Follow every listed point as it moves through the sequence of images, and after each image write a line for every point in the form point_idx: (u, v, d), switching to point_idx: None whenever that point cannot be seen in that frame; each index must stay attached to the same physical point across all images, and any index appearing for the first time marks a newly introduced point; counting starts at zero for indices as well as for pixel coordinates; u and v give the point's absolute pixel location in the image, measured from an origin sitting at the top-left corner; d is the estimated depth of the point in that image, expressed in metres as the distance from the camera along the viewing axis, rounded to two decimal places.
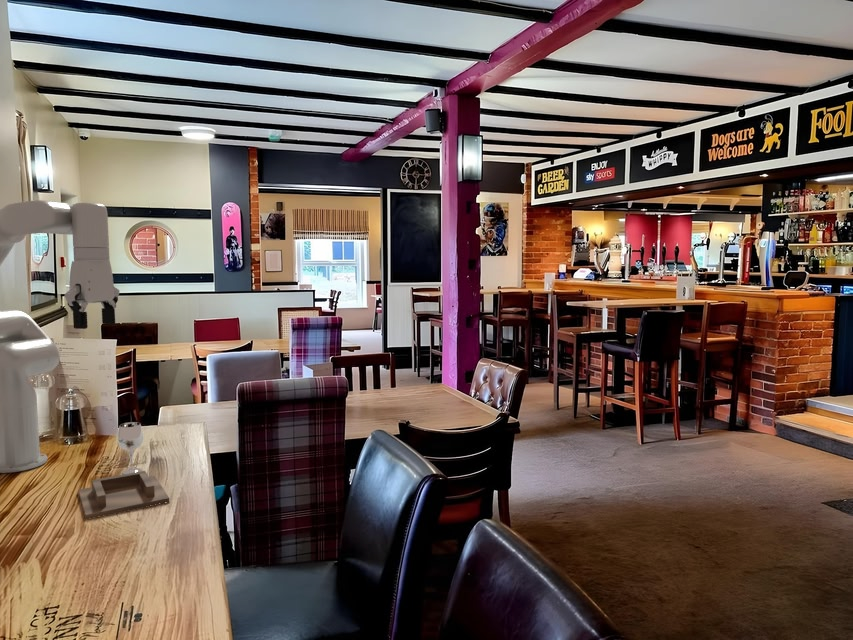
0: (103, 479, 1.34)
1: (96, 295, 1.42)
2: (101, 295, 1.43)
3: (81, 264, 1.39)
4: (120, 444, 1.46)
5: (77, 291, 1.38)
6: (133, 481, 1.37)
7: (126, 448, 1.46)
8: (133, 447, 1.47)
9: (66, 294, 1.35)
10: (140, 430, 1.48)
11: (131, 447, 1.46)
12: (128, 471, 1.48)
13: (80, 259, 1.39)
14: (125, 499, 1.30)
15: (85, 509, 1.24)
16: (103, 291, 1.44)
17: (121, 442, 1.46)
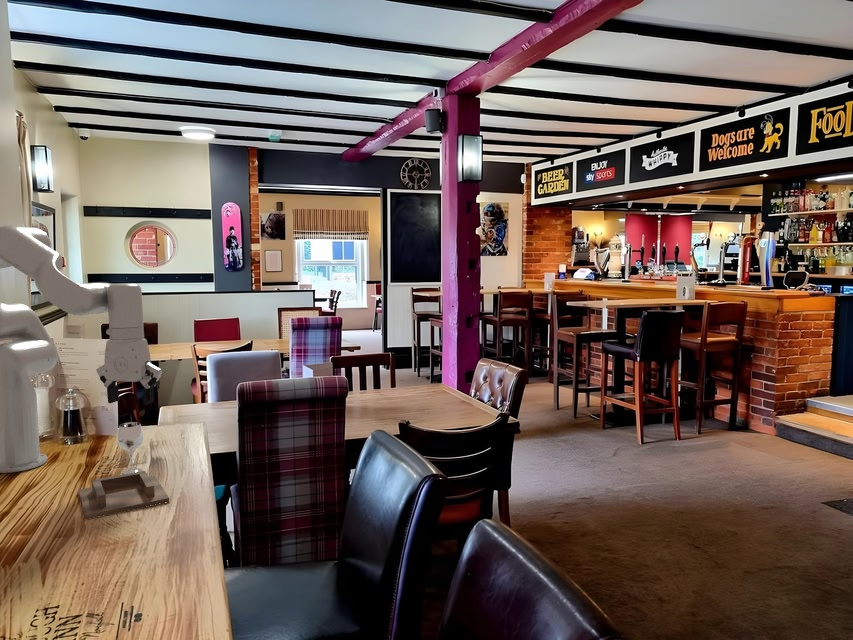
0: (103, 479, 1.34)
1: None
2: None
3: (145, 342, 1.46)
4: (120, 444, 1.46)
5: None
6: (133, 481, 1.37)
7: (126, 448, 1.46)
8: (133, 447, 1.47)
9: (159, 370, 1.45)
10: (140, 430, 1.48)
11: (131, 447, 1.46)
12: (128, 471, 1.48)
13: (140, 338, 1.45)
14: (125, 499, 1.30)
15: (85, 509, 1.24)
16: None
17: (121, 442, 1.46)
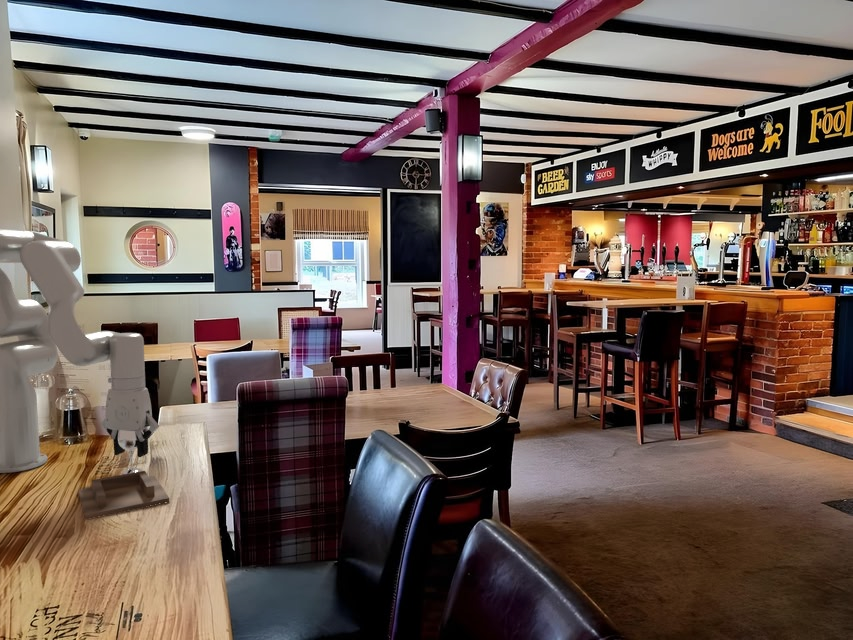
0: (103, 479, 1.34)
1: None
2: None
3: (146, 391, 1.47)
4: (120, 444, 1.46)
5: None
6: (133, 481, 1.37)
7: (126, 448, 1.46)
8: (133, 447, 1.47)
9: (156, 426, 1.46)
10: None
11: (131, 447, 1.46)
12: (128, 471, 1.48)
13: (142, 388, 1.46)
14: (125, 499, 1.30)
15: (85, 509, 1.24)
16: None
17: (121, 442, 1.46)
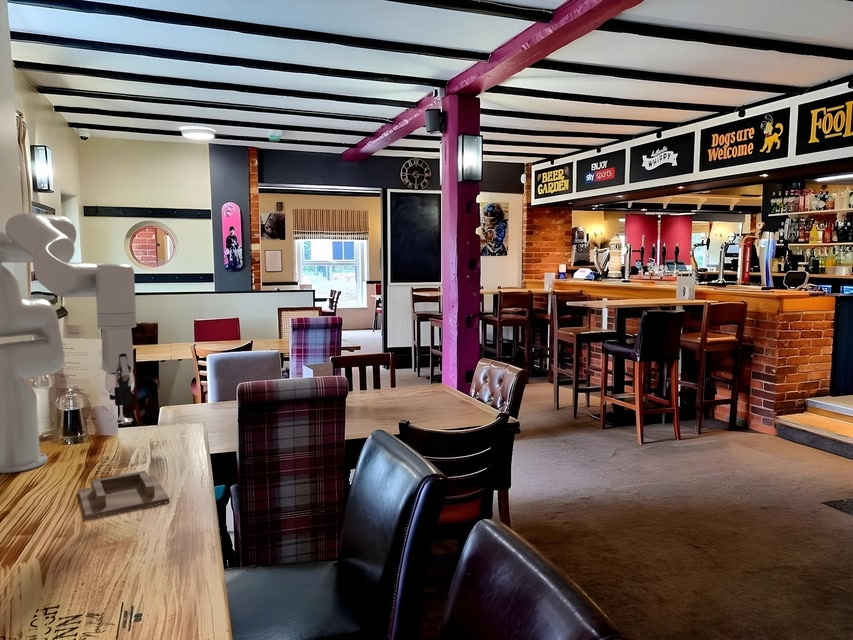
0: (103, 479, 1.34)
1: None
2: None
3: (124, 331, 1.27)
4: None
5: (126, 365, 1.27)
6: (133, 481, 1.37)
7: (109, 393, 1.30)
8: (114, 393, 1.29)
9: (124, 373, 1.25)
10: None
11: (112, 393, 1.29)
12: (115, 420, 1.32)
13: (120, 326, 1.27)
14: (125, 499, 1.30)
15: (85, 509, 1.24)
16: None
17: (105, 385, 1.30)
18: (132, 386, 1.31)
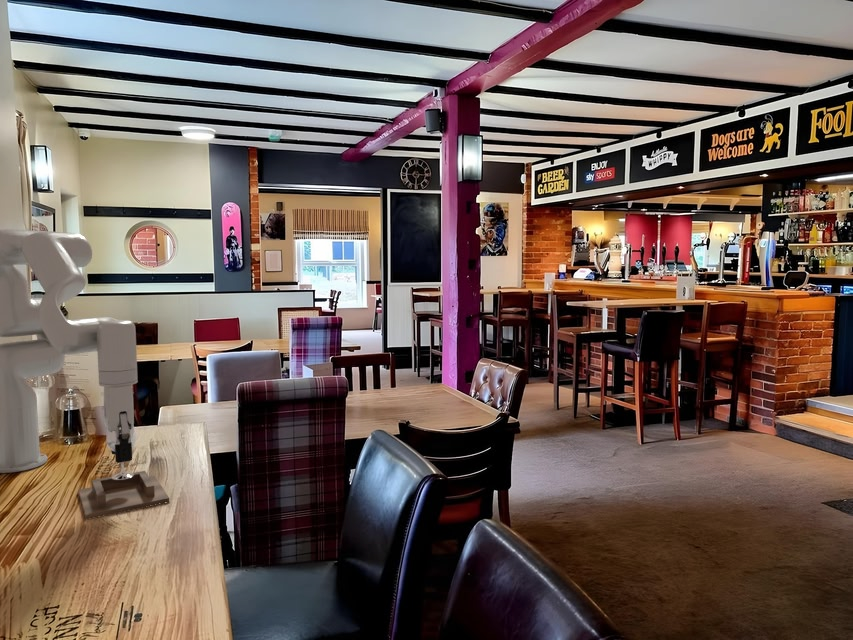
0: (103, 479, 1.34)
1: None
2: None
3: (125, 389, 1.27)
4: None
5: (126, 422, 1.27)
6: (133, 481, 1.37)
7: (110, 449, 1.30)
8: None
9: (124, 432, 1.25)
10: None
11: (113, 449, 1.29)
12: (116, 475, 1.32)
13: (120, 384, 1.27)
14: (125, 499, 1.30)
15: (85, 509, 1.24)
16: None
17: None
18: (133, 442, 1.31)
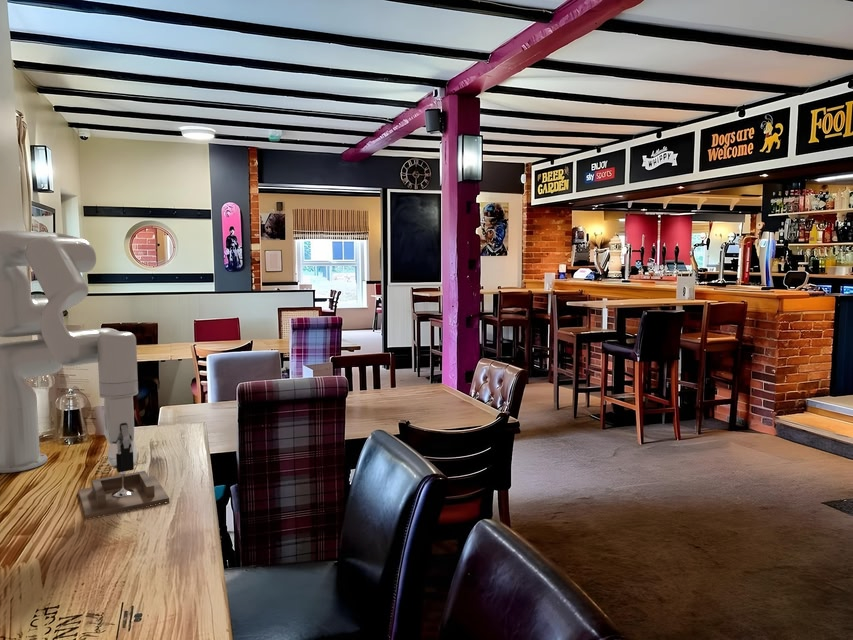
0: (103, 479, 1.34)
1: None
2: None
3: (125, 401, 1.27)
4: None
5: (127, 431, 1.27)
6: (133, 481, 1.37)
7: (111, 466, 1.31)
8: (116, 467, 1.30)
9: (125, 438, 1.24)
10: None
11: (114, 466, 1.30)
12: (117, 492, 1.32)
13: (121, 396, 1.27)
14: (125, 499, 1.30)
15: (85, 509, 1.24)
16: None
17: (108, 458, 1.31)
18: (134, 459, 1.32)
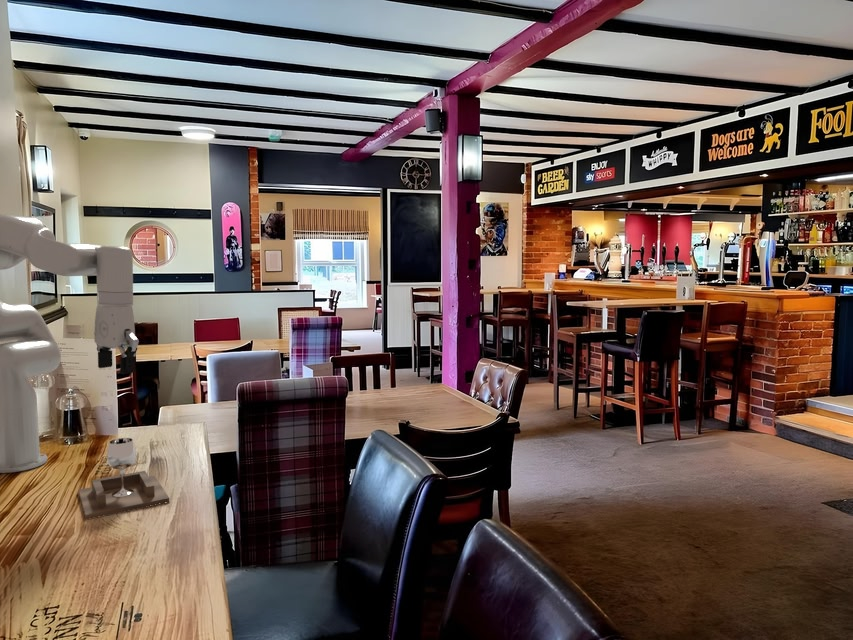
0: (103, 479, 1.34)
1: None
2: None
3: (128, 308, 1.39)
4: None
5: None
6: (133, 481, 1.37)
7: (111, 466, 1.31)
8: (115, 467, 1.30)
9: (134, 340, 1.36)
10: (124, 449, 1.30)
11: (113, 466, 1.30)
12: (116, 492, 1.32)
13: (123, 304, 1.38)
14: (125, 499, 1.30)
15: (85, 509, 1.24)
16: None
17: None
18: (133, 459, 1.32)
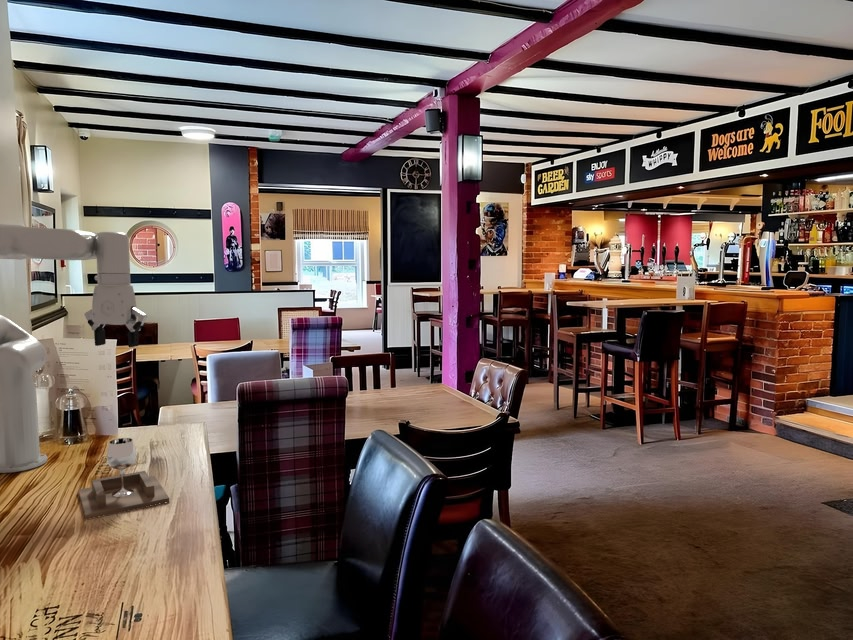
0: (103, 479, 1.34)
1: None
2: None
3: (131, 288, 1.54)
4: None
5: None
6: (133, 481, 1.37)
7: (111, 466, 1.31)
8: (115, 467, 1.30)
9: (144, 315, 1.53)
10: (124, 450, 1.30)
11: (113, 467, 1.30)
12: (116, 492, 1.32)
13: (127, 284, 1.53)
14: (125, 499, 1.30)
15: (85, 509, 1.24)
16: None
17: None
18: (133, 459, 1.32)
